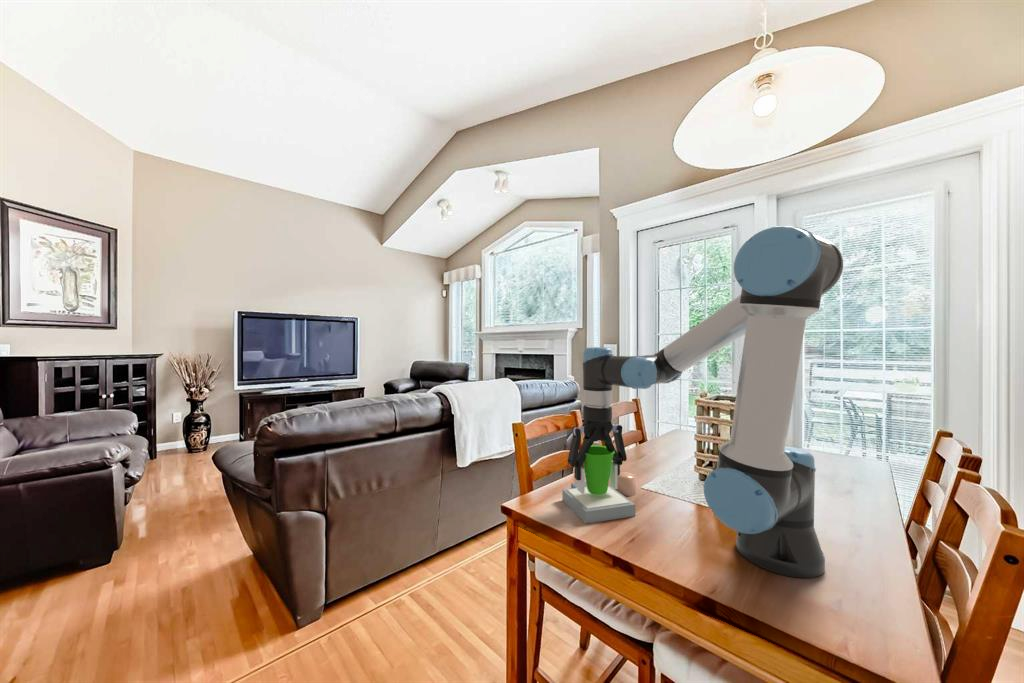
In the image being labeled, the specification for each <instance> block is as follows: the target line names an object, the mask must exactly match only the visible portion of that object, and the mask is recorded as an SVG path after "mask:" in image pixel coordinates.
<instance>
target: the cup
mask: <svg viewBox="0 0 1024 683" xmlns="http://www.w3.org/2000/svg"><path fill="white" fill-rule="evenodd" d="M614 453H615V451H614V450H613V451H612V453H611V452H609V451H608V450H607V448H606V446H605V445H596V444H595V445H594V444H593V445H591V447H590V449H589V452H588V454H587V453H585V454H586V458H585V461H584V463H583V468H584V469H585V482H586V484H587V489H588V491H589V492H590V493H592V494H596V495H602V494H605V493H606V492H607V490H608V485H610V471H611V465H612V462H613V460H612V459H613V454H614Z"/></svg>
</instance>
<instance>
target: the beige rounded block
mask: <svg viewBox="0 0 1024 683" xmlns="http://www.w3.org/2000/svg"><path fill="white" fill-rule="evenodd" d="M636 477H637V475H636V474H634V473H632V472H629V471H620V475H618V479H617V489H615V490H616V491H618V492H619V493H620V494H622V495H623V496H625V497H633V496H635V495H636V494H637V490H636V488H637V486H636V484H637V478H636Z"/></svg>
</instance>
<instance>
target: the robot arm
mask: <svg viewBox="0 0 1024 683" xmlns="http://www.w3.org/2000/svg"><path fill="white" fill-rule="evenodd" d="M843 270H844V259H843V255H842V253H841V251H840V250H839V248H838V247H837V246H836V244H834V243H833V242H831V241H830V240H829V239H827V238H824V237H821V236H818V235H816V234H815V235H814V234H813V233H812V232H811V231H808V230H807V229H805V228H802V227H797V226H787V225H777V226H772V227H768V228H766V229H763V230H760V231H758V232H757V233H755V234H754V235H752V236H751V237H750V238H749V239H748V240H746V241H745V242H744V243H743V245H741V247H740V248H739V250H738V251H737V253H736V255H735V258H734V262H733V274H734V278H735V279H736V280H735V281H737V283H738V285H739V286H740V287H741V291H740V292H741V293H740V295H739V296H736V297H735V298H734V299H732V300H731V301H730V302H729V303H727V304H726V305H723V306H722V307H721V308H720V309H718V310H717V311H715V312H714V313H712V314H710V315H709V316H708V317H706V318H705V319H703V320H702V321H700V322H699V323H698V324H697V325H695V326H693V327H692V328H691V329H689V330H688V331H686V332H685V333H683V334H682V335H680V336H679V337H677V338H676V339H675V340H673V341H672V342H670V343H669V344H668V345H666V346H665V347H664V348H662V349H660V350H659V351H656V353H654V354H648V355H634V356H633V355H631V356H629V355H627V356H624V355H613V350H612V348H611V347H605V346H603V347H597V346H596V347H594V346H593V347H592V346H591V347H585V349H584V350H583V356H582V357H583V359H582V371H583V374H582V376H583V377H582V379H583V380H582V381H583V384H582V389H583V390H582V397H583V398H582V403H583V404H584V405H583V407H582V418H583V424H582V426H577V427H576V426H573V427H572V429H571V430H572V438H571V442H570V447H569V453H568V457H567V464H568V465H569V466H571V467H572V468H574V470H573V471H574V473H573V474H574V479H575V480H577V481H576V483H577V490H578V491H579V492H580V493H582V494H584V493H585V482H586V477H585V469H584V464H583V463H584V461H585V458H586V454H585V453H587V454H588V452H589V449H590V447H591V445H594V442H598V441H601V442H603V444H604V446H606V448H607V450H608V451H609V452H611V453H612V451H613V450H614V451H615V453H614V454H613V459H612V465H611V471H610V478H609V486H610V487H612V488H613V489H617V479H618V475H620V472H621V466H622V465H623V462H626V461H627V460H628V458H627V453H626V448H625V443H624V439H623V438H624V437H623V426H622V425H621V424H618V423H614V424H613V423H612V419H613V407H612V406H611V405H612V404H613V386H618V387H624V388H631V389H634V390H637V389H638V390H639V389H642V390H646V389H650V388H651V387H652V385H658V384H660V385H661V384H669V383H671V382H675V381H677V380H678V379H679V378H681V376H682V373H683V372H685V371H686V370H688V369H690V368H691V367H693V366H694V365H697V364H698V363H700V362H701V361H703V360H705V359H706V358H707V357H708V358H709V356H711V355H713V354H715V353H717V352H718V351H719V350H721V349H723V348H725V347H726V346H728V345H730V344H731V343H733V342H734V341H736V340H738V339H740V338H741V337H743V336H744V338H743V339H744V340H743V347H742V353H741V362H740V367H739V375H738V380H737V381H738V382H737V388H736V396H735V401H734V408H733V416H732V422H731V423H732V424H731V430H730V438H729V440H727V441H725V442H724V443H722V444H720V446H719V448H718V449H719V450H718V455H717V456H718V457H717V464H716V469H713V470H712V471H710V472H709V473H708V475H707V476H706V478H705V480H704V483H703V496H704V498H705V501H706V504H707V506H708V507H709V509H710V510H711V511H712V512H713V515H714V516H715V517H716V518H717V519H718V520H719V521H720V522H721V523H722V524H723V525H724V526H726V527H728V528H729V529H731V530H733V531H736V532H737V533H736V544H735V545H736V549H737V551H738V552H739V554H740V555H741V556H743V557H744V558H745V559H746V560H747V561H748V562H750V563H752V564H754V565H756V566H757V567H760V568H762V569H764V570H766V571H770V572H772V573H775V574H778V575H780V576H781V575H782V576H785V577H786V576H787V577H791V578H800V579H811V578H816V577H820V576H821V575H823V574H824V573H825V571H826V568H825V567H826V559H825V558H826V557H825V554H824V552H823V550H822V547H821V544H820V541H819V539H818V535H817V532H816V529H815V488H816V487H815V484H816V483H815V482H816V481H815V479H816V476H815V474H816V471H817V468H816V465H815V457H814V455H813V454H812V453H811V452H809V451H807V450H804V449H802V448H799V447H798V448H796V447H793V446H789V445H787V441H788V434H789V427H790V422H791V421H790V420H791V416H792V410H793V402H794V396H795V390H796V385H797V384H796V383H797V378H798V373H799V371H798V370H799V365H800V359H801V353H802V352H801V351H802V346H803V342H804V341H803V340H804V334H805V328H806V323H807V322H806V321H807V320H808V319H809V317H811V316H812V315H814V314H815V313H817V312H818V311H819V310H820V307H821V306H820V305H821V300H822V296H824V295H825V294H826V293H827V292H828V291H830V290H831V289H832V288H833V287H834V286H836V284H837V283H838V281H839V280H840V279H841V276H842V274H843ZM611 432H612V435H613V439H614V442H613V439H612V437H611V435H610V433H611ZM583 433H584V436H583ZM582 436H583V437H582ZM582 438H583V440H582ZM581 440H582V444H581ZM614 443H615V444H614ZM580 445H581V446H580Z"/></svg>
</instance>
